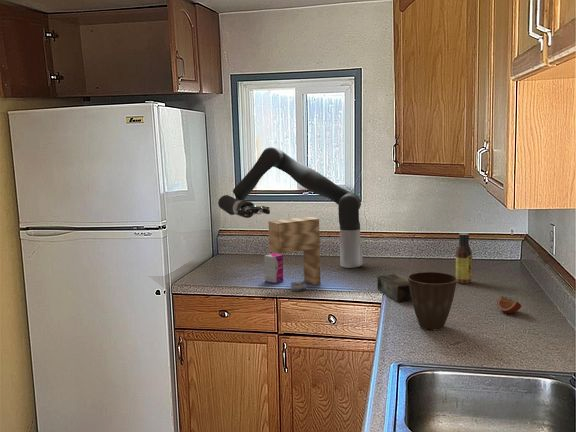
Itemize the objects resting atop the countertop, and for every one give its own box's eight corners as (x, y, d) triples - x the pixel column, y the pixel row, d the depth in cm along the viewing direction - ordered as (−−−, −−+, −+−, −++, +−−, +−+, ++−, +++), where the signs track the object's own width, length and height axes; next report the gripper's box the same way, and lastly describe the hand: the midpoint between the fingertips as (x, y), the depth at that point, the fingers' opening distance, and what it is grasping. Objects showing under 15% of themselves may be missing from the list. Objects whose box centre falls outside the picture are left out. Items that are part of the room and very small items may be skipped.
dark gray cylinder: (298, 287, 238) (298, 280, 237) (309, 290, 234) (309, 283, 233) (288, 291, 234) (287, 283, 233) (298, 293, 229) (298, 286, 229)
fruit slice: (492, 310, 203) (492, 296, 202) (508, 307, 205) (509, 293, 204) (509, 317, 195) (509, 302, 194) (525, 314, 197) (526, 300, 196)
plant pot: (425, 315, 199) (425, 269, 196) (465, 325, 188) (466, 276, 185) (398, 326, 188) (398, 278, 186) (439, 338, 178) (439, 286, 175)
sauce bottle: (472, 284, 235) (473, 235, 232) (456, 284, 236) (456, 235, 233) (470, 280, 241) (471, 232, 238) (454, 280, 242) (455, 232, 239)
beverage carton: (395, 288, 234) (395, 272, 233) (417, 301, 215) (417, 284, 214) (376, 290, 232) (376, 273, 231) (397, 303, 213) (397, 286, 212)
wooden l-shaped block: (310, 279, 250) (308, 216, 246) (321, 283, 242) (319, 218, 238) (270, 286, 240) (268, 221, 236) (280, 291, 233) (278, 223, 229)
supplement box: (275, 284, 244) (274, 257, 242) (264, 282, 248) (263, 255, 246) (284, 280, 249) (283, 254, 247) (273, 279, 252) (272, 252, 250)
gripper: (229, 201, 263) (244, 205, 249) (257, 199, 270) (274, 202, 256) (229, 218, 264) (245, 223, 250) (258, 215, 271) (274, 219, 257)
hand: (260, 212), depth 253 cm, fingers open, 8 cm apart
